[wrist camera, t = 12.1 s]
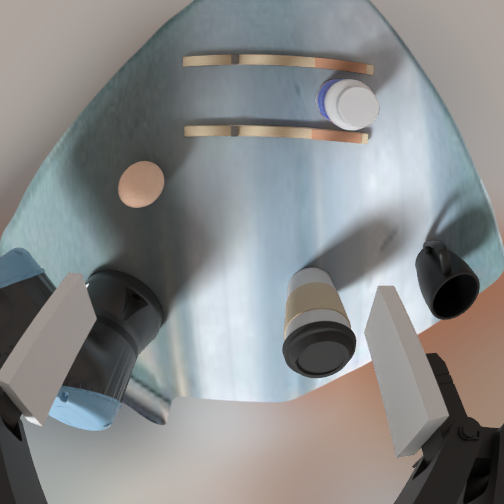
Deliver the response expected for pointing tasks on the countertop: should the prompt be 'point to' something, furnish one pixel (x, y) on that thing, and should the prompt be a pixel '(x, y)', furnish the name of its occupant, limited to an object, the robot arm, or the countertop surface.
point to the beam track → (277, 130)
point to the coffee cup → (316, 326)
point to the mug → (445, 281)
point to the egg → (141, 184)
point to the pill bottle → (347, 103)
